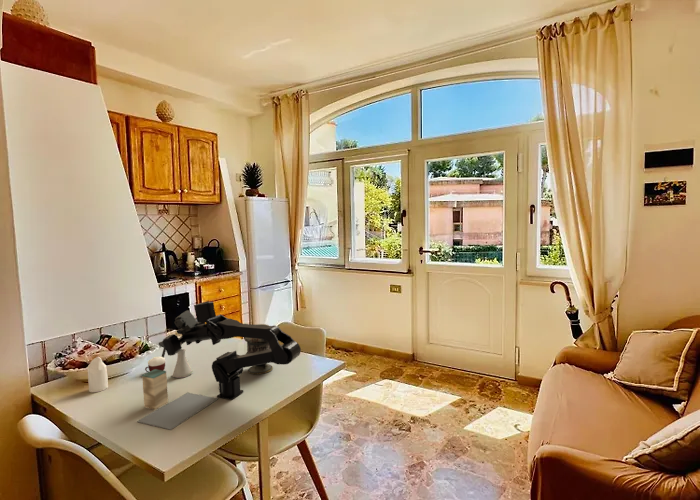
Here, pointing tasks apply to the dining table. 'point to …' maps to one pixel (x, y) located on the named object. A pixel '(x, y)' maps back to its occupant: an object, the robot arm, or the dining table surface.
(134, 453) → the dining table surface
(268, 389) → the dining table surface
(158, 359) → the cocoa
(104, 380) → the white rounded block
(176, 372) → the flask
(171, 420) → the slate pad
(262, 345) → the apothecary jar
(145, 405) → the brown and teal block
